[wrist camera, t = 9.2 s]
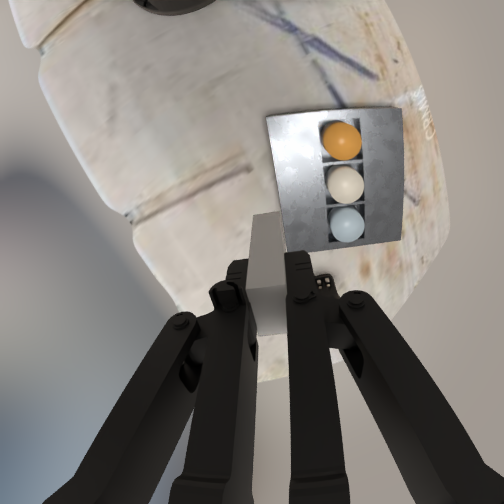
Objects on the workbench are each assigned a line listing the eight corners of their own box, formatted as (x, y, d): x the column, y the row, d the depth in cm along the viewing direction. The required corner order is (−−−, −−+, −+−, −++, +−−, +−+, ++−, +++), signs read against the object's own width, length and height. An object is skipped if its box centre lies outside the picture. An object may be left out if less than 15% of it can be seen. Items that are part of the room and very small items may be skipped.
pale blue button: (327, 205, 40) (331, 213, 37) (358, 201, 39) (364, 209, 36) (328, 234, 42) (332, 244, 40) (358, 230, 41) (364, 240, 39)
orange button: (318, 122, 33) (322, 124, 31) (353, 119, 33) (360, 122, 30) (322, 156, 36) (326, 162, 33) (356, 153, 35) (362, 158, 33)
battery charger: (332, 268, 47) (347, 315, 37) (335, 285, 49) (348, 333, 39) (292, 277, 48) (297, 326, 38) (297, 293, 50) (302, 342, 40)
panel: (266, 116, 35) (266, 117, 32) (392, 106, 32) (401, 108, 30) (286, 244, 45) (287, 255, 42) (393, 231, 42) (400, 240, 40)
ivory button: (323, 165, 37) (327, 171, 34) (356, 161, 36) (363, 167, 33) (326, 197, 39) (330, 205, 36) (358, 193, 38) (364, 201, 36)
